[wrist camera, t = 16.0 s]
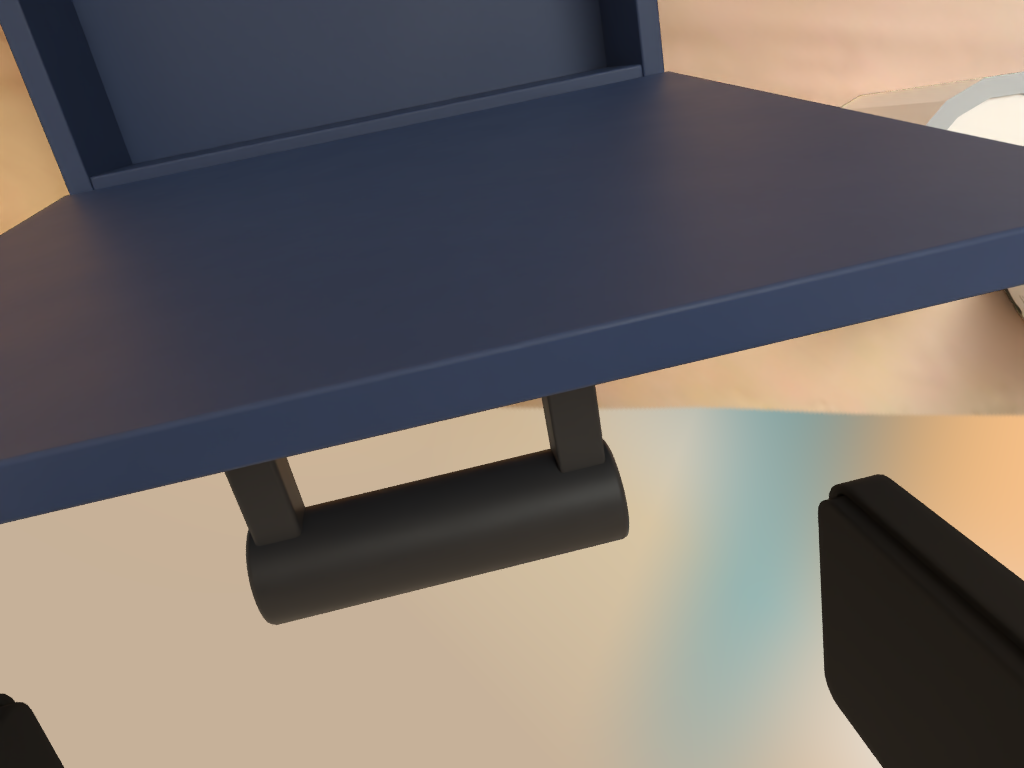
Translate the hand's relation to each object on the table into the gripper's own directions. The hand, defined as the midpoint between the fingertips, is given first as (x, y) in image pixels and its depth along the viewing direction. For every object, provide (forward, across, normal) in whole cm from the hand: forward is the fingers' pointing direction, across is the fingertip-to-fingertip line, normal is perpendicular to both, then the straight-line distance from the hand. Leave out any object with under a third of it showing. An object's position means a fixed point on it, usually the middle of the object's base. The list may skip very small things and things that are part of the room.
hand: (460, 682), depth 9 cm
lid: (+9, 0, -5) cm, 10 cm away
